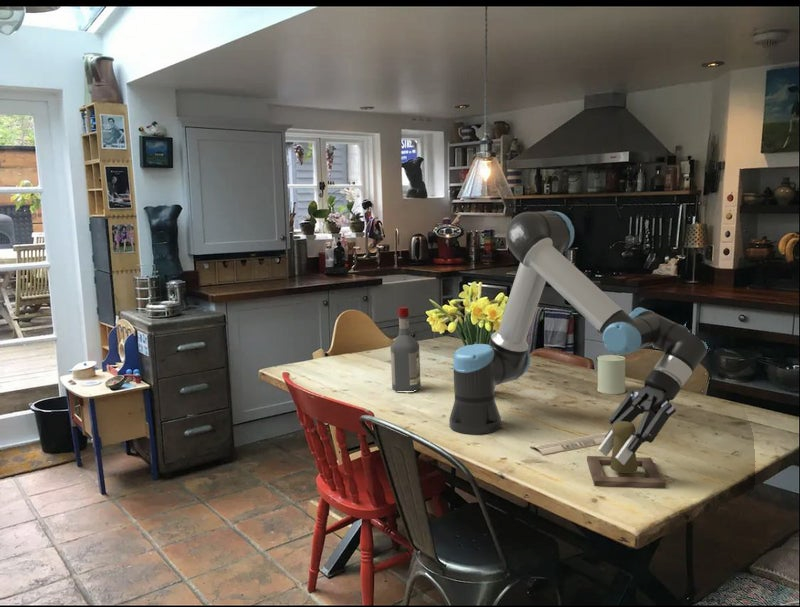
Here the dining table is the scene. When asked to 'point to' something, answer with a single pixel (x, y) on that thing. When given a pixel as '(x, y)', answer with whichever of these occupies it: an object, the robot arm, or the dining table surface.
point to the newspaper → (570, 444)
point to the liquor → (405, 357)
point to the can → (611, 374)
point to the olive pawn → (621, 435)
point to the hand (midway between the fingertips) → (610, 456)
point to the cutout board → (600, 480)
